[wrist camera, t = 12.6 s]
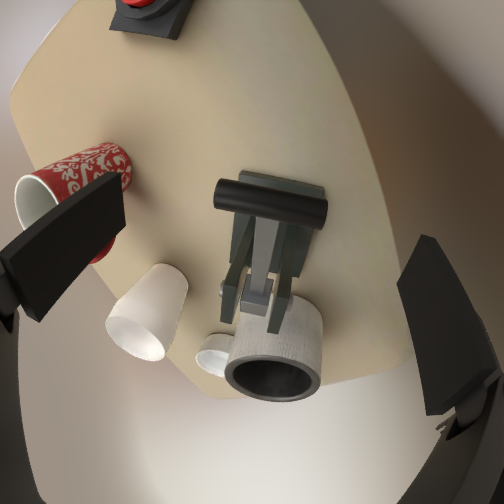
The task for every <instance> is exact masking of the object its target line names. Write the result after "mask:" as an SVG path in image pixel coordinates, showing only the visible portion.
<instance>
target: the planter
mask: <svg viewBox="0 0 504 504" xmlns="http://www.w3.org/2000/svg"><path fill="white" fill-rule="evenodd" d="M273 295H274V293H271V295H270V300H269V305H268V309H267V312H266V315H265V317H263V316H258V315H253V314H249V313H244V312H241V313H240V316H239V319H238V323H237V327H236V331H235V334H234V338H233V342H232V345H231V349H230V353H229V356H228V360H227V363H226V367H225V371H224V375H225V378H226V380H227V382H228V383H229V384H230V385H231V386H232V387H233V388H234V389H236V390H237V391H239V392H241V393H243V394H245V395H247V396H250V397H252V398H256V399H260V400H264V401H271V402H291V401H297V400H301V399H304V398H307V397H309V396H311V395H313V394H314V393H315V392H316V391H317V390H318V389H319V387H320V381H321V362H322V342H323V321H322V317H321V314H320V312H319V311H318V310H317V308H316V307H315V306H314V305H313V304H311V303H310V302H308V301H307V300H305V299H303V298H301V297H298V296H295V295H293V304H292V308H291V311H290V312H287V311H286V312H285V316H284V319H283V322H282V325H281V328H280V331H279V334H278V335H276V334H271V333H267V327H268V322H269V317H270V311H271V306H272V300H273ZM290 295H291V294H290Z"/></svg>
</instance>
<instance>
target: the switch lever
mask: <svg viewBox="0 0 504 504" xmlns="http://www.w3.org/2000/svg"><path fill="white" fill-rule="evenodd" d="M213 203H214V207H215V208H216V209H220V210H226V211H231V212H236V213H241V214H246V215H251V216H256V224H255V235H254V246H253V257H252V268H251V275H250V274H247V275H246V279H245V283H244V287H243V291H242V295H241V299H240V312H244V313H249V314H253V315H258V316H263V317H265V315H266V312H267V309H268V305H269V300H270V295H271V290H272V286H273V281H274V280H273V279H268V278H267V277H268V272H269V268H270V263H271V258H272V254H273V249H274V245H275V240H276V235H277V231H278V226H279V221H280V222H284V223H289V224H294V225H298V226H303V227H307V228H312V229H316V230H322V228H323V226H324V223H325V220H326V216H327V210H328V201H327V200H326V199H322V198H318V197H313V196H309V195H305V194H300V193H295V192H291V191H286V190H281V189H276V188H272V187H267V186H261V185H256V184H251V183H246V182H240V181H235V180H229V179H223V178H221V179H219V181H218V183H217V185H216V188H215V192H214V200H213Z"/></svg>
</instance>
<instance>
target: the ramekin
mask: <svg viewBox="0 0 504 504" xmlns="http://www.w3.org/2000/svg"><path fill="white" fill-rule="evenodd" d="M233 338H234V336H231V335H228V334H221V333H218V334H212V335H209V336H208V337H207V338H206V339H205V341H204V342H203V344H202V346H201V349H200V351H199V352H198V353H197V355H196V362H197V363H198V365H199V366H200V367H201V368H203V369H204V370H205V371H207V372H209V373H211V374H213V375H216V376H220V377H225V375H224V371H225V367H226V363H227V360H228V356H229V353H230V349H231V345H232V342H233Z"/></svg>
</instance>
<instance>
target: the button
mask: <svg viewBox="0 0 504 504" xmlns="http://www.w3.org/2000/svg"><path fill="white" fill-rule="evenodd" d="M122 1H123V2H124V3H126V4H130V5H134V6H138V7H141V6H146V5H148V4H150V3H152V2H153V1H155V0H122Z"/></svg>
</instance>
